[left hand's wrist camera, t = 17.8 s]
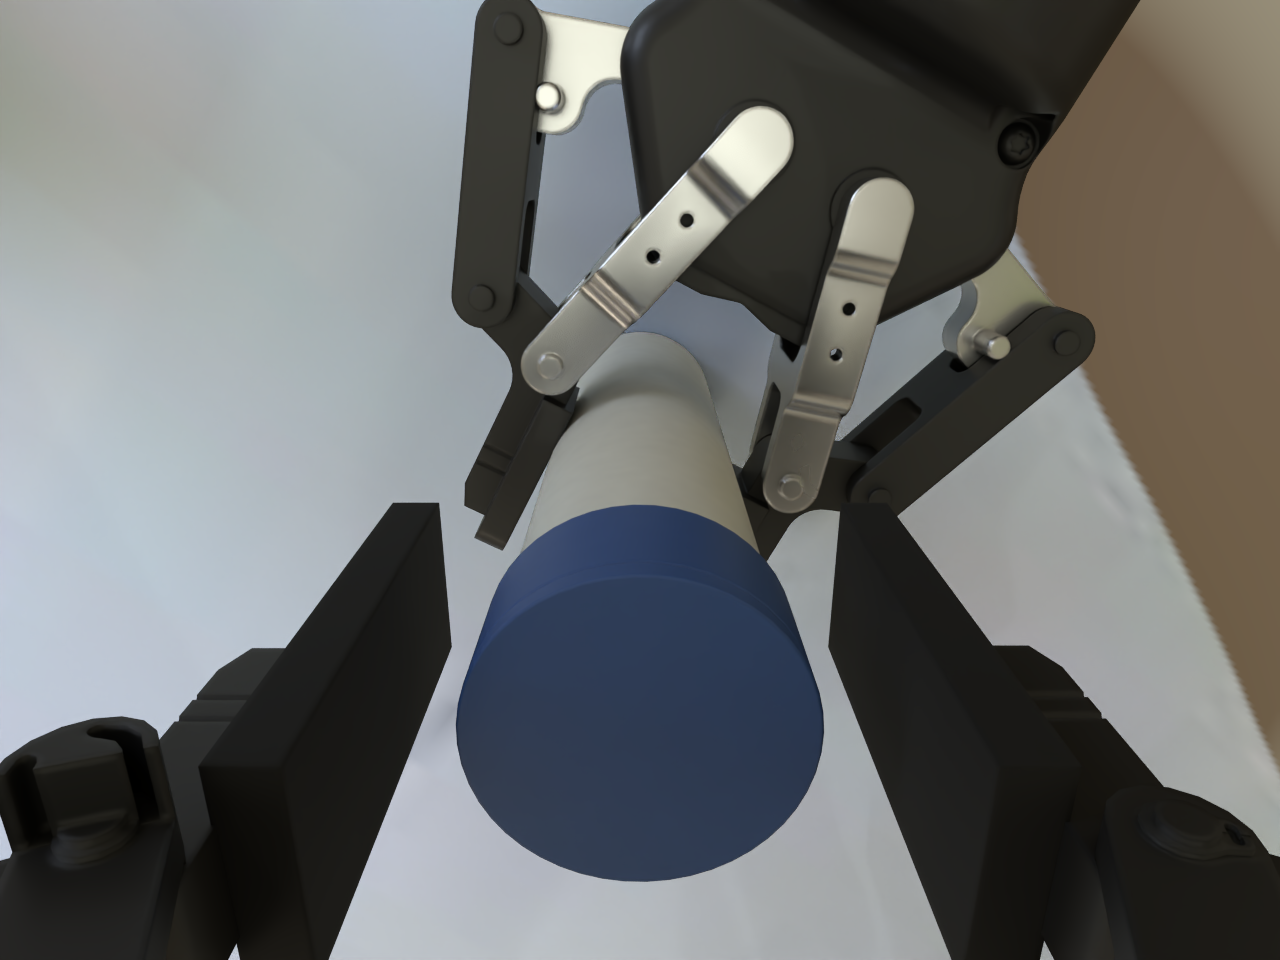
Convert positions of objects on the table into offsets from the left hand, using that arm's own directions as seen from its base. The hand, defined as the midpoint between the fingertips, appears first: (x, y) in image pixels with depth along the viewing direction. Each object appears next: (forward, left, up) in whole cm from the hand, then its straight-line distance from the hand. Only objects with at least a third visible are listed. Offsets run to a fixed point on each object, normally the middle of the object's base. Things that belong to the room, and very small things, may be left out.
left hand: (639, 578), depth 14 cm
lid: (0, 0, +4) cm, 4 cm away
